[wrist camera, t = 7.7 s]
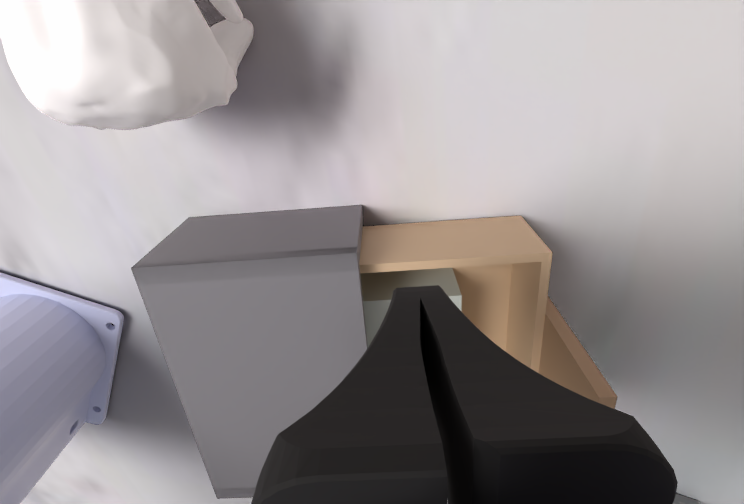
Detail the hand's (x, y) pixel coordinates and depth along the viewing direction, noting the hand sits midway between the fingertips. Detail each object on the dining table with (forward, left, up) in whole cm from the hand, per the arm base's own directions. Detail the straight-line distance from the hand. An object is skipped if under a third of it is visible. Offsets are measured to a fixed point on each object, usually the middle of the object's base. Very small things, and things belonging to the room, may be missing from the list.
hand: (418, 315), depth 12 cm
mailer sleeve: (-9, +3, -10) cm, 14 cm away
